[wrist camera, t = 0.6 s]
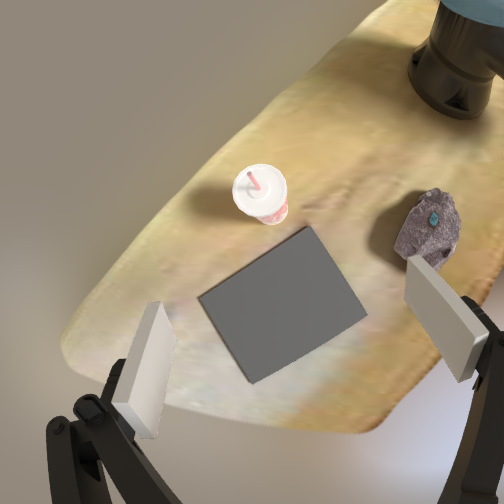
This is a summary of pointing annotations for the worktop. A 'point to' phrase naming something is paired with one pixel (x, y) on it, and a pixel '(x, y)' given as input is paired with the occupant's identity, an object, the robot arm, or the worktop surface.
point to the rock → (430, 229)
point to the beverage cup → (261, 193)
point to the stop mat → (283, 306)
